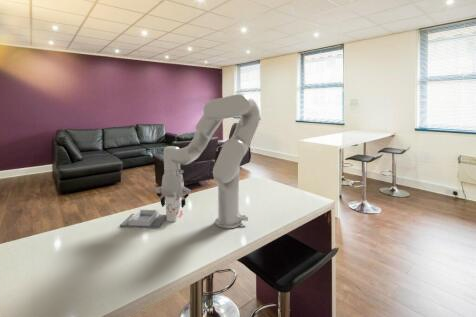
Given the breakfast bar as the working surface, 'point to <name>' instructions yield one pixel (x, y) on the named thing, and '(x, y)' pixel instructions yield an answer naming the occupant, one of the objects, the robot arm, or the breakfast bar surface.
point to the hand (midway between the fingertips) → (173, 206)
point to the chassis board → (144, 219)
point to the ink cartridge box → (173, 207)
